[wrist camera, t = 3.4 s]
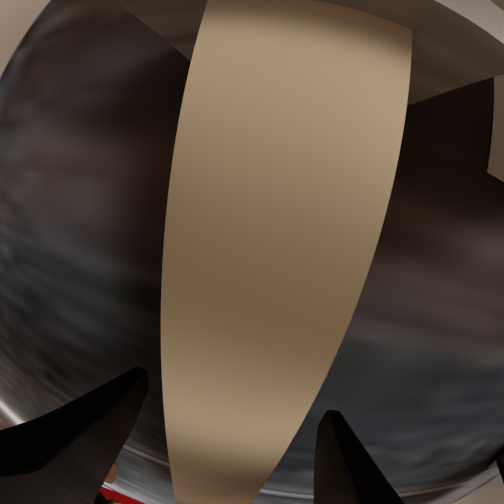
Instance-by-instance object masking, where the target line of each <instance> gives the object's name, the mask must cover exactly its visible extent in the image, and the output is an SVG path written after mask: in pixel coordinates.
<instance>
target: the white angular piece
mask: <svg viewBox="0 0 504 504" xmlns="http://www.w3.org/2000/svg"><path fill="white" fill-rule="evenodd" d="M490 1H491V2H493V3H494V4H495V5H497V6H498V7H499V8H501V9H502V10H503V11H504V0H490ZM487 173H489V174H491V175H492V176H494V177H496V178H498V179H499V180H501V181H503V182H504V74H503V75H499V76H496V77H494V114H493V129H492V140H491V149H490V156H489V163H488V169H487Z"/></svg>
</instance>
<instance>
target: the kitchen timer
mask: <svg viewBox="0 0 504 504" xmlns="http://www.w3.org/2000/svg"><path fill="white" fill-rule="evenodd" d="M99 492H101V493H102V494H103V496H104V497H105V498H106V499H108V500H114V501H116V503H115V504H144V503H141V502H139V501H137V500H134V499H132V498H130V497H127V496H125V495H122V494H120V493H117V492H115V491H112V490H109V489H107V488H104V487H101V488H100V490H99Z"/></svg>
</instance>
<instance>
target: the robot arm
mask: <svg viewBox="0 0 504 504" xmlns="http://www.w3.org/2000/svg"><path fill="white" fill-rule="evenodd" d="M148 388H149V382H148V373H147V371H146V370H145V369H142V368H139V367H134V368H132V369H131V370H129V371H127V372H125V373H123V374H122V375H120V376H118V377H116V378H114V379H113V380H111V381H109V382H107V383H105V384H103V385H102V386H100V387H98V388H96V389H94V390H92V391H90V392H89V393H87V394H85V395H83V396H81V397H79V398H77V399H75V400H73V401H71V402H70V403H68V404H66V405H64V406H62V407H60V408H59V409H56V410H54V411H52V412H50V413H48V414H45V415H43V416H41V417H39V418H36V419H33V420H31V421H28V422H25V423H22V424H19V425H16V426H13V427H10V428H6V429H3V430H0V504H93V502H94V500H95V498H96V496H97V494H98V492H99V490H100V488H101V487H102V485H103V483H104V481H105V479H106V477H107V475H108V473H109V471H110V470H111V468H112V466H113V464H114V462H115V460H116V458H117V456H118V455H119V453H120V451H121V449H122V447H123V445H124V443H125V442H126V440H127V438H128V436H129V434H130V432H131V431H132V429H133V427H134V425H135V422H136V420H137V417H138V415H139V412H140V410H141V407H142V404H143V402H144V399H145V397H146V394H147V392H148ZM496 464H497V466H498V469H499V472H500V474H501V477H502V480H503V483H504V449H503V450H502V451H501V452H500V453H499V454H498V455H497V456H496V457H494V458H493V459H492V460H491V461H490V462H489V463H488V464H487V466H488V468H489V467H492V466H494V465H496ZM314 504H405V503H404V502H403V501H402V500H401V498H400V497H399V496H398V494H397V493H396V492H395V491H394V489H393V488H392V486H391V485H390V484H389V482H388V483H387V479H386V478H385V477H384V475H383V474H382V472H381V471H380V469H379V468H378V467H377V465H376V464H375V462H374V461H373V459H372V458H371V457H370V455H369V454H368V452H367V451H366V449H365V448H364V446H363V445H362V444H361V442H360V441H359V439H358V438H357V436H356V435H355V433H354V432H353V430H352V429H351V427H350V426H349V425H348V423H347V422H346V420H345V419H344V417H343V416H342V414H341V413H340V412H339V411H335V410H328V411H326V413H325V415H324V416H323V418H322V419H321V421H320V423H319V425H318V431H317V441H316V450H315V459H314Z"/></svg>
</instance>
